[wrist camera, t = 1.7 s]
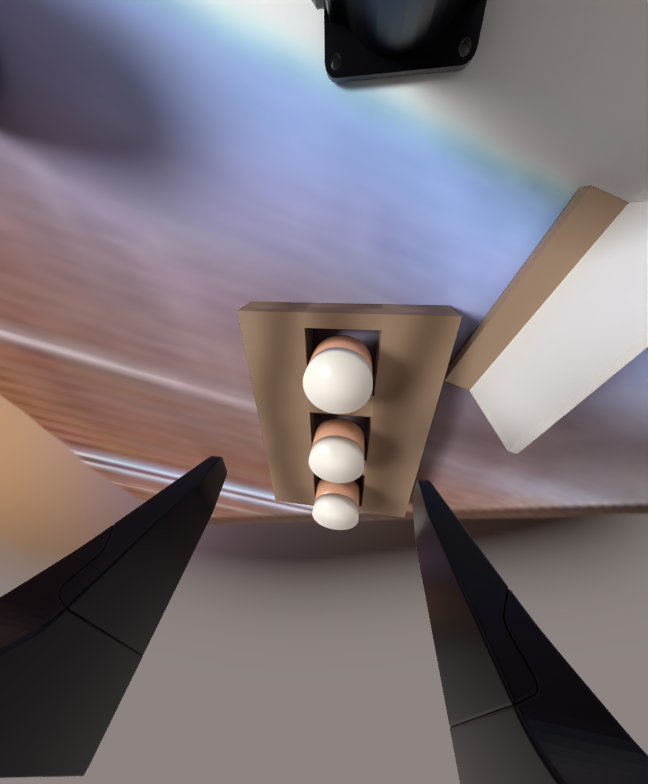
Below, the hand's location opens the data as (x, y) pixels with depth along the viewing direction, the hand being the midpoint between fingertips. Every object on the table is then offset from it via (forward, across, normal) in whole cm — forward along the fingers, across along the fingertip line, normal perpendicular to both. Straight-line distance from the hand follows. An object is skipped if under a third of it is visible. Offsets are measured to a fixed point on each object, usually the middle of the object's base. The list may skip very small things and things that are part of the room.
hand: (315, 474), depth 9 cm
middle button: (+10, 0, +7) cm, 12 cm away
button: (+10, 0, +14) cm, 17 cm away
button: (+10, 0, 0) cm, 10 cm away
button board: (+12, 0, +7) cm, 14 cm away
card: (+12, -12, -3) cm, 17 cm away
